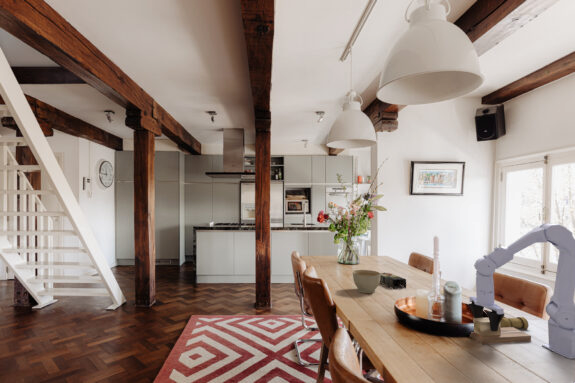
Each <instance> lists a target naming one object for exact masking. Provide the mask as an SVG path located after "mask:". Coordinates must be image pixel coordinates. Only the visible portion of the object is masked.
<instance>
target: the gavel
mask: <svg viewBox="0 0 575 383" xmlns="http://www.w3.org/2000/svg"><path fill="white" fill-rule="evenodd" d="M483 310H484V311H485V312H486V313H487V312H488V311H489V309H488V310H487V309H483ZM500 324H501V328H505V327H513V328H516V329H523V330H527V329H528V328H529V326H530V325H529V322H528V320H527V318H525V317H524V316H518V317H506V316H504V317H503V318H502V319H501V321H500Z"/></svg>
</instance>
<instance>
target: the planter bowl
mask: <svg viewBox="0 0 575 383" xmlns="http://www.w3.org/2000/svg"><path fill="white" fill-rule="evenodd" d="M381 273H382V272H379V271H376V270H370V269H357V270H353V271H352V278H353V283H354V284H355V286H356V288H357V290H358V292H360V293H362V294H363V293H364V294H374V293H375V291H376V290H377V288H378V287H379V285H380V276H381ZM373 292H374V293H373Z"/></svg>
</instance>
